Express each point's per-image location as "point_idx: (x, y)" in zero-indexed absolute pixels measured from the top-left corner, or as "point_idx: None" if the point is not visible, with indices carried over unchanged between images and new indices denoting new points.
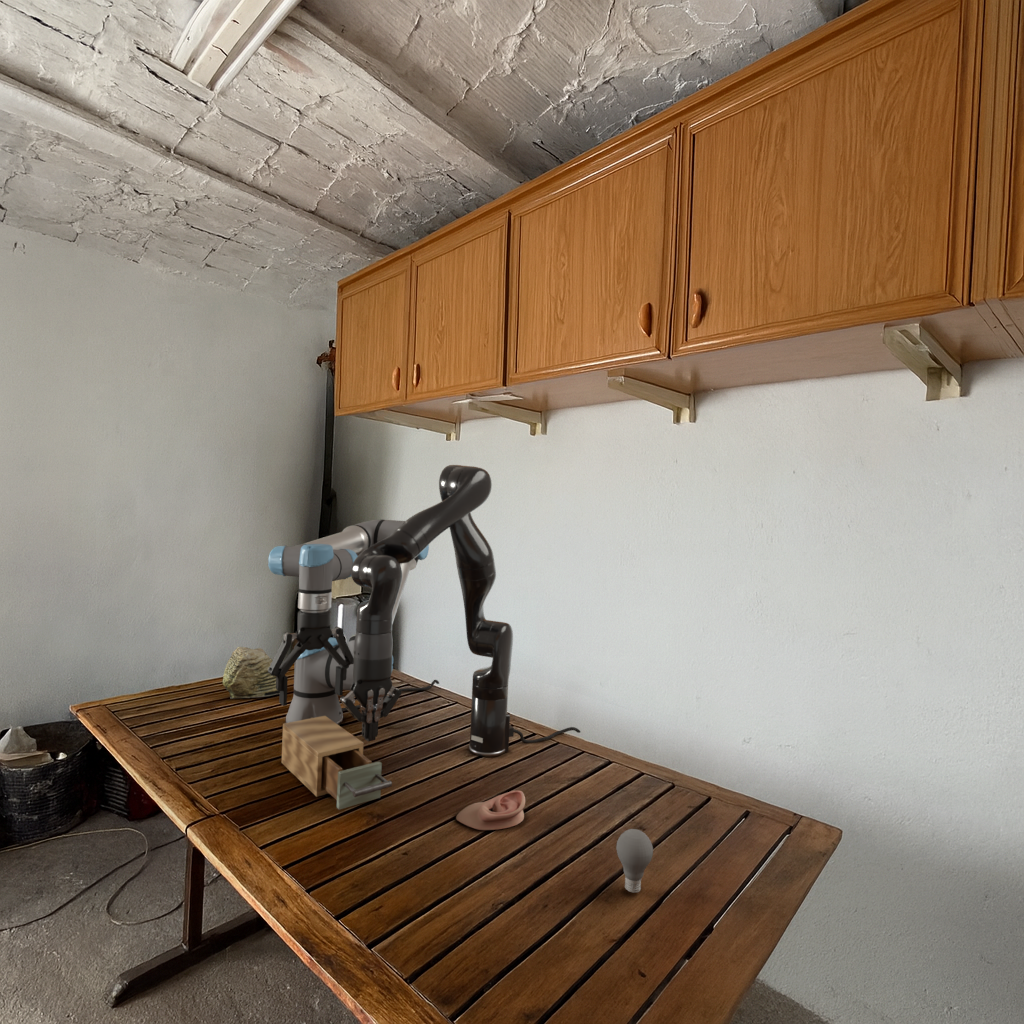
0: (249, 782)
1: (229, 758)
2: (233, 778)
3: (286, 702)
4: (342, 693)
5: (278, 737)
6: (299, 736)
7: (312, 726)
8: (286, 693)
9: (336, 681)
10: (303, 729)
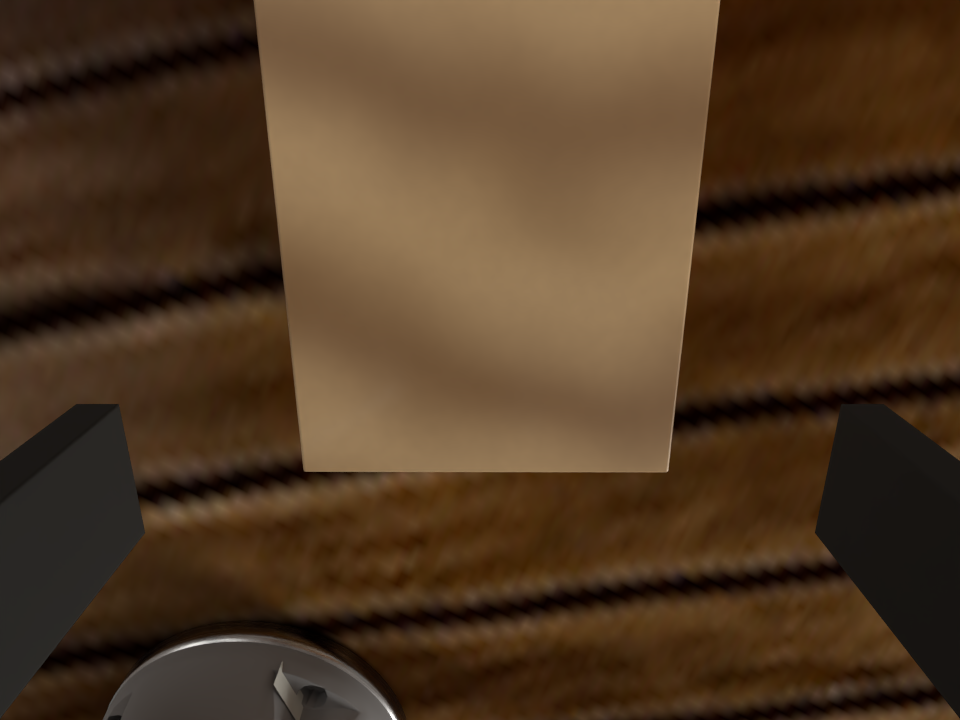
0: (864, 206)
1: (794, 544)
2: (900, 305)
3: (863, 421)
4: (64, 415)
5: (490, 656)
6: (698, 110)
7: (494, 287)
8: (947, 486)
9: (45, 616)
10: (591, 260)
